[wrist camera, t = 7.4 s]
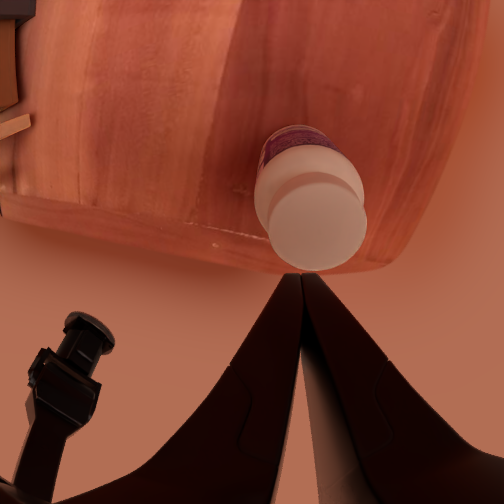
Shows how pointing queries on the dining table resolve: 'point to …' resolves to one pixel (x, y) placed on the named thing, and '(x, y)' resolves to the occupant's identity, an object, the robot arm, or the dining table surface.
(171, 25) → the dining table surface
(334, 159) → the pill bottle
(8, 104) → the drawer
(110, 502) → the robot arm
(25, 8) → the cabinet
